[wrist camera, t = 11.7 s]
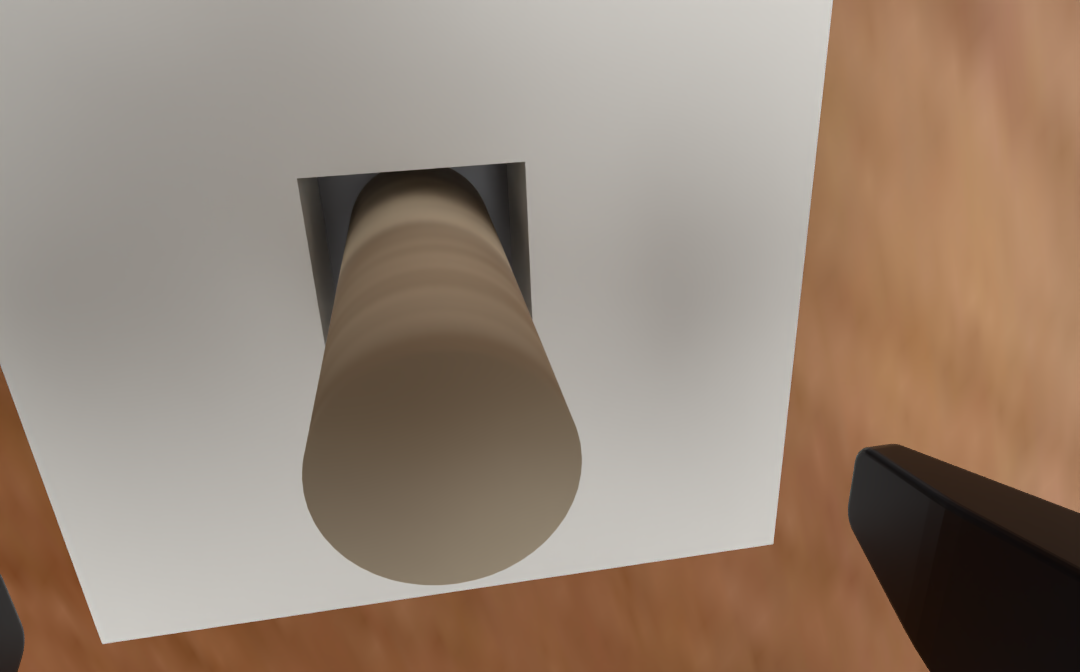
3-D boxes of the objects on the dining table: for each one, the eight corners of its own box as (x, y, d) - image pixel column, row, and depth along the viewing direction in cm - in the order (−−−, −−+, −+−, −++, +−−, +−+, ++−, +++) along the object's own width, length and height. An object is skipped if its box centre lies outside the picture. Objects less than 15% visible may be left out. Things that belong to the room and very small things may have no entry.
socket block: (714, 457, 23) (773, 543, 20) (151, 531, 21) (102, 643, 18) (756, -173, 17) (856, -216, 13) (-59, -162, 14) (-210, -210, 11)
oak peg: (494, 288, 19) (584, 565, 10) (360, 301, 18) (325, 602, 9) (484, 155, 18) (580, 335, 9) (340, 166, 17) (278, 366, 8)
